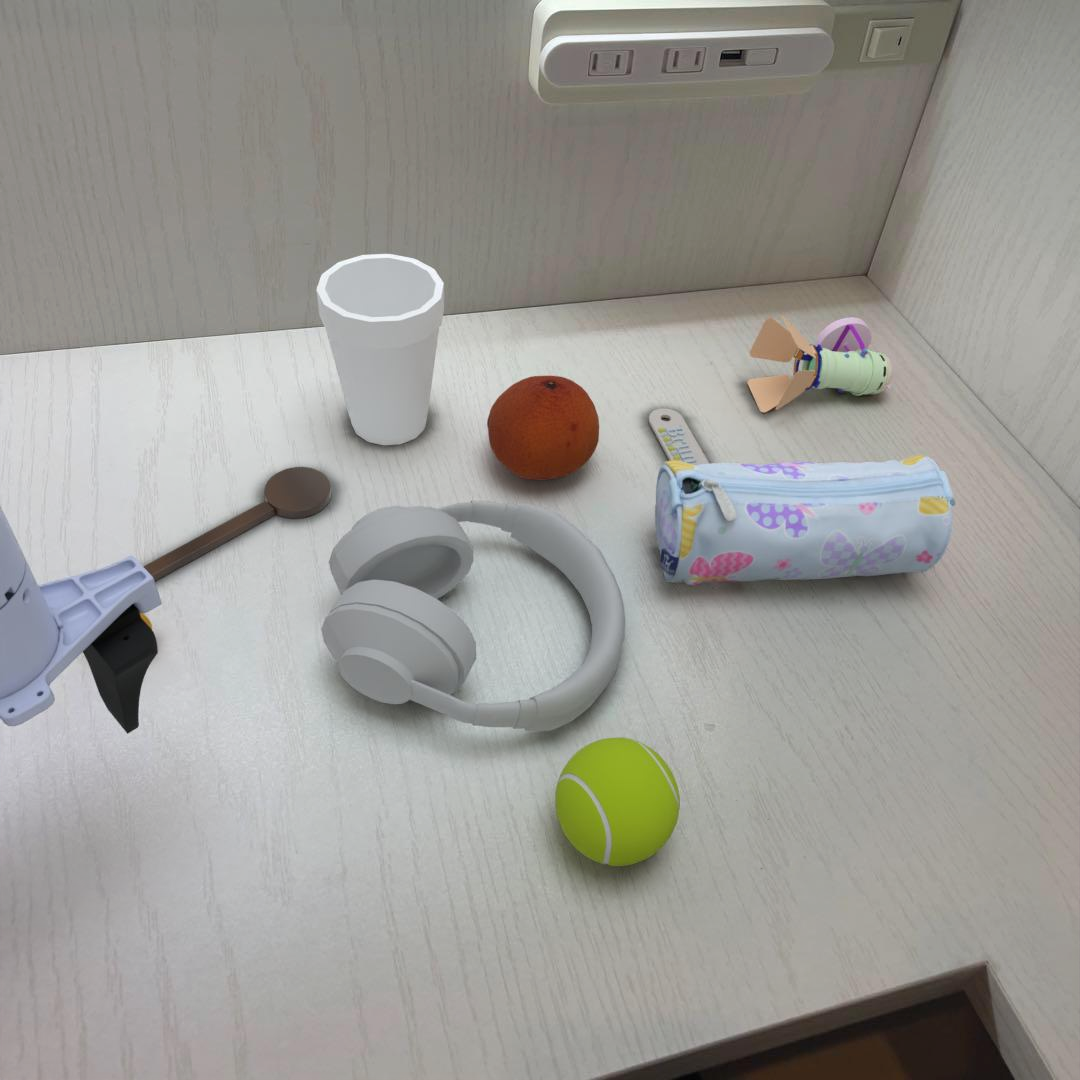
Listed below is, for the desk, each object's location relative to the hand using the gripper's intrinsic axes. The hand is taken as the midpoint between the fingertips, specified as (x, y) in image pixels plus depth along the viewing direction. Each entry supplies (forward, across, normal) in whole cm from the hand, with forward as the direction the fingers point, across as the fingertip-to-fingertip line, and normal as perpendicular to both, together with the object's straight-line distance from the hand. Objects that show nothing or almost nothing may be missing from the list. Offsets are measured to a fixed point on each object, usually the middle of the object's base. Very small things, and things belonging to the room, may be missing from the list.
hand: (51, 762), depth 48 cm
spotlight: (+10, +68, -3) cm, 69 cm away
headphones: (+10, +26, -3) cm, 28 cm away
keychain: (+9, +52, 0) cm, 53 cm away
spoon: (+9, +18, +16) cm, 26 cm away
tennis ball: (+10, +22, -19) cm, 31 cm away
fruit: (+10, +42, +7) cm, 44 cm away
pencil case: (+10, +48, -13) cm, 51 cm away
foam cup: (+10, +36, +19) cm, 42 cm away
